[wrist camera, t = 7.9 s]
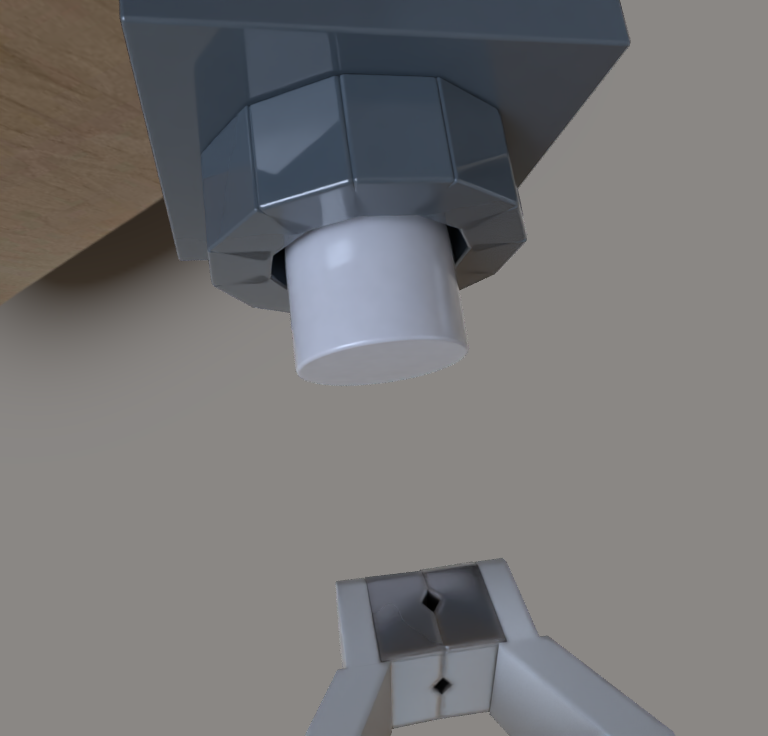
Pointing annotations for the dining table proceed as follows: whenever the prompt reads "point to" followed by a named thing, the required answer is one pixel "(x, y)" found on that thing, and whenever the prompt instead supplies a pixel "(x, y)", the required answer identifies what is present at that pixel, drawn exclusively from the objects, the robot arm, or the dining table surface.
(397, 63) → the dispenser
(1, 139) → the dining table surface
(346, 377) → the cylinder
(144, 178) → the dining table surface
